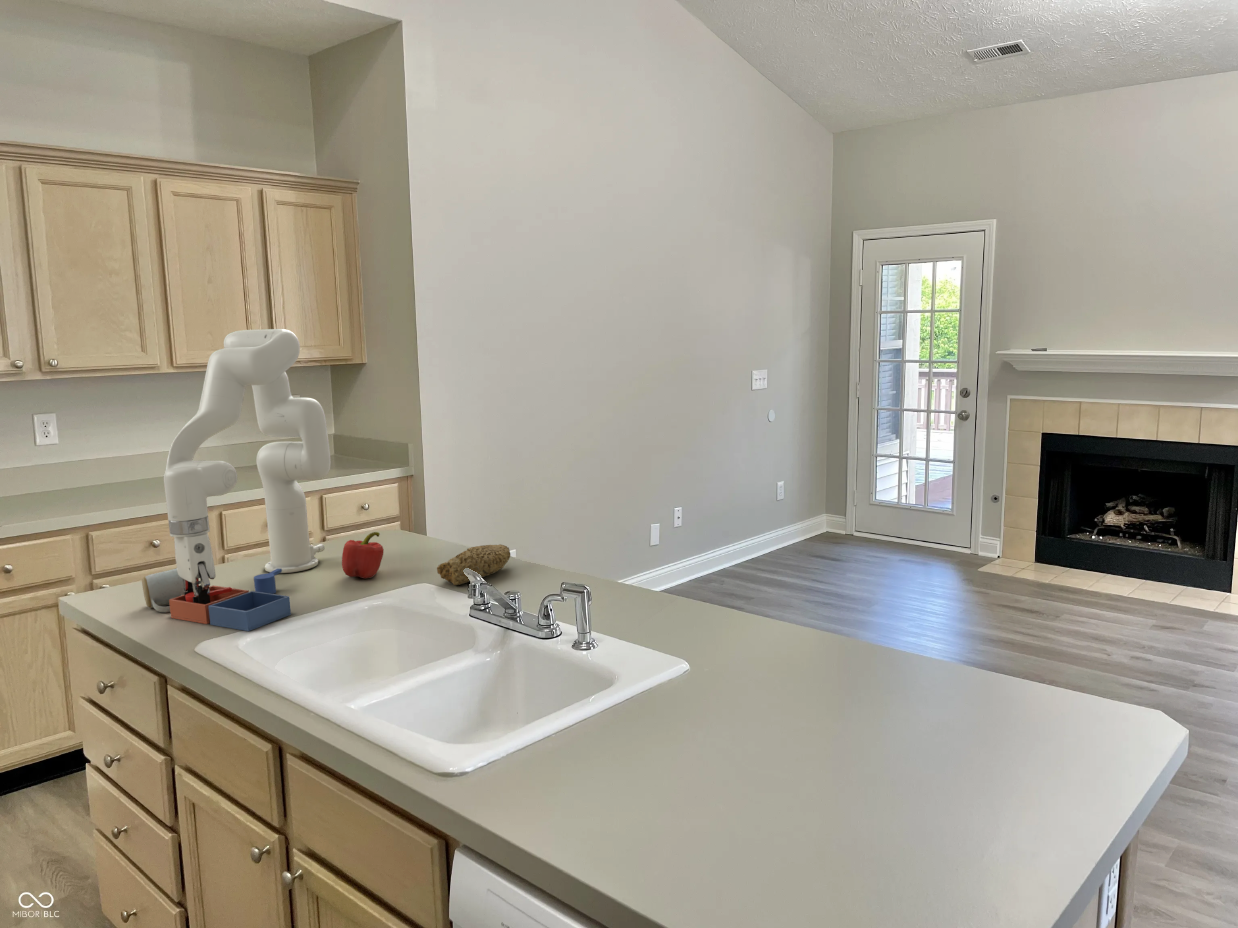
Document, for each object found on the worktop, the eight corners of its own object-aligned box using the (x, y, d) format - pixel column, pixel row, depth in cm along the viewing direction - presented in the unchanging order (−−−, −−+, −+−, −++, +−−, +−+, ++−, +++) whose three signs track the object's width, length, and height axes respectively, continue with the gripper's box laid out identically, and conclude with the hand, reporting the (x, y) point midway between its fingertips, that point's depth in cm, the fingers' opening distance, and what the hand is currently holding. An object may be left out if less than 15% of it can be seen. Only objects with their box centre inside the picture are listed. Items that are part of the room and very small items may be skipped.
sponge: (463, 594, 204) (531, 558, 216) (452, 562, 202) (520, 528, 215) (434, 593, 214) (500, 559, 226) (423, 563, 212) (490, 530, 225)
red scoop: (191, 616, 188) (189, 598, 188) (184, 612, 192) (182, 594, 191) (236, 606, 194) (234, 588, 194) (228, 602, 198) (227, 584, 197)
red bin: (215, 602, 201) (213, 585, 200) (250, 608, 196) (248, 590, 195) (171, 617, 191) (168, 599, 190) (206, 624, 186) (204, 605, 185)
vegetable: (369, 567, 225) (365, 528, 224) (397, 573, 219) (394, 532, 218) (332, 578, 216) (328, 537, 215) (360, 584, 210) (356, 542, 209)
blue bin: (253, 608, 195) (252, 590, 195) (291, 614, 190) (289, 596, 190) (210, 624, 185) (208, 605, 185) (248, 631, 180) (246, 611, 180)
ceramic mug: (143, 604, 201) (139, 570, 200) (184, 596, 206) (180, 564, 204) (149, 617, 193) (145, 582, 191) (191, 609, 197) (188, 574, 196)
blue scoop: (270, 595, 204) (268, 578, 204) (251, 595, 205) (249, 578, 204) (289, 584, 213) (288, 567, 213) (272, 584, 214) (270, 567, 213)
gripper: (222, 528, 185) (231, 615, 188) (194, 517, 197) (203, 599, 200) (183, 535, 180) (193, 624, 183) (157, 524, 192) (167, 607, 195)
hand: (198, 610), depth 191 cm, fingers closed on red scoop, 4 cm apart
